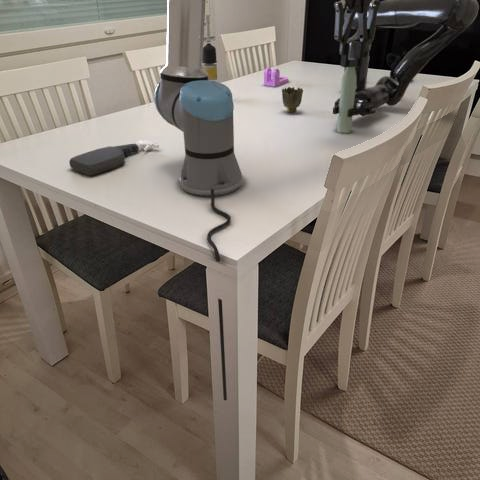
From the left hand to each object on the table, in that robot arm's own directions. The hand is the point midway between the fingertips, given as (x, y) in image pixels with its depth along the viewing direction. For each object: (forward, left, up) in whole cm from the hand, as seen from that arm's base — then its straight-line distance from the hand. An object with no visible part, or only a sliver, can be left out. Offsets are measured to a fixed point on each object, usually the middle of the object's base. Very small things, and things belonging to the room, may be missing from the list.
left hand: (350, 65), depth 132 cm
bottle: (0, 0, -20) cm, 20 cm away
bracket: (+57, +38, -20) cm, 72 cm away
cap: (0, 0, +2) cm, 2 cm away
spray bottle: (-43, +56, -20) cm, 74 cm away
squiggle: (+78, -13, -20) cm, 81 cm away
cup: (+15, +21, -20) cm, 33 cm away
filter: (+25, +56, -20) cm, 65 cm away
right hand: (-3, +1, -13) cm, 13 cm away
